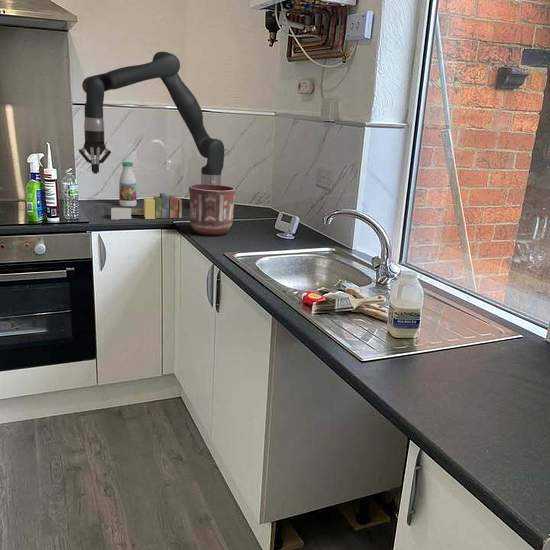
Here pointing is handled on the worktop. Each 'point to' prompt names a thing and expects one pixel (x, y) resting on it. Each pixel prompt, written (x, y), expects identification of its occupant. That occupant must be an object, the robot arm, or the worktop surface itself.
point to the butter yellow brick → (149, 208)
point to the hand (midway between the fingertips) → (95, 173)
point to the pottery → (211, 208)
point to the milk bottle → (127, 186)
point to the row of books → (164, 207)
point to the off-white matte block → (121, 213)
